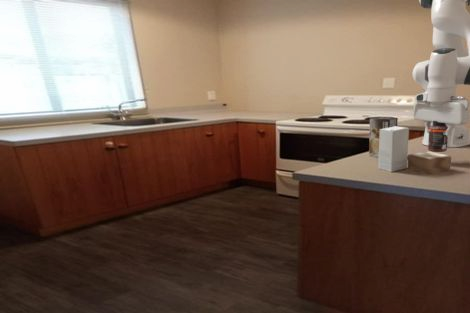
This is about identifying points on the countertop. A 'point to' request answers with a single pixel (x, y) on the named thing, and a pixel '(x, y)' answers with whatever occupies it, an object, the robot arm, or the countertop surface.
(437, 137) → the supplement bottle
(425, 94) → the robot arm
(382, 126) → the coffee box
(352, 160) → the countertop surface
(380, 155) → the skincare box
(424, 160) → the walnut base
